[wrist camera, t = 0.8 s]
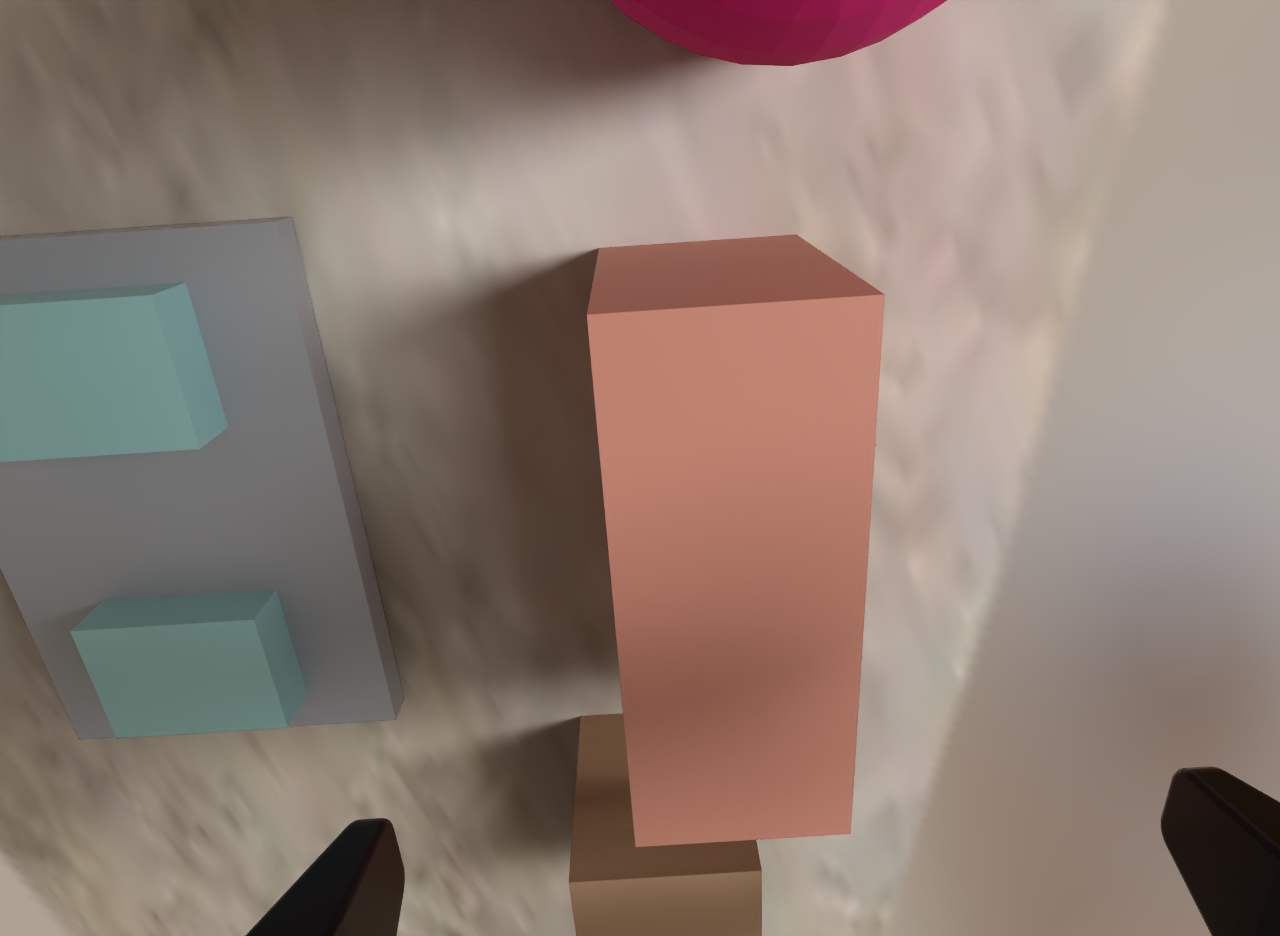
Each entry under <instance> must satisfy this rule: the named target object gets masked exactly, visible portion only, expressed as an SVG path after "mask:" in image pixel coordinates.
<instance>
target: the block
mask: <svg viewBox="0 0 1280 936" xmlns="http://www.w3.org/2000/svg"><path fill="white" fill-rule="evenodd" d="M569 888H570V894H571V901H572V908H573V915H574V922H575V929H576V936H762V870H761V865H760V859H759V854H758V848H757V843H756V840H743V841H727V842H711V843H694V844H678V845H662V846H646V847H635V836H634V825H633V814H632V803H631V792H630V781H629V770H628V760H627V749H626V738H625V727H624V716H623V714H608V715H592V716H581V719H580V733H579V747H578V761H577V775H576V789H575V803H574V817H573V831H572V845H571V859H570V873H569Z"/></svg>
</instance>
